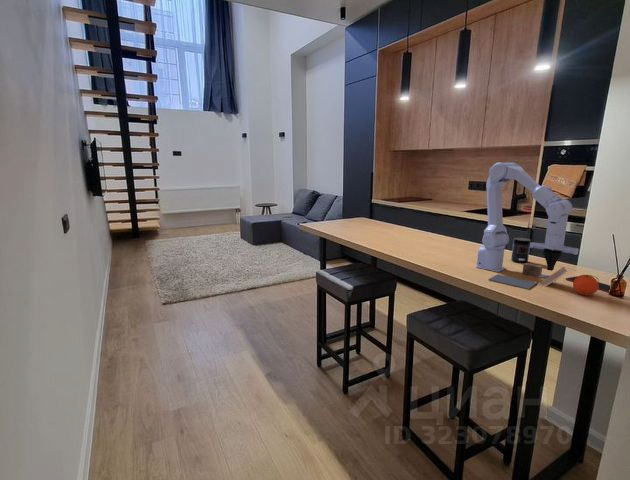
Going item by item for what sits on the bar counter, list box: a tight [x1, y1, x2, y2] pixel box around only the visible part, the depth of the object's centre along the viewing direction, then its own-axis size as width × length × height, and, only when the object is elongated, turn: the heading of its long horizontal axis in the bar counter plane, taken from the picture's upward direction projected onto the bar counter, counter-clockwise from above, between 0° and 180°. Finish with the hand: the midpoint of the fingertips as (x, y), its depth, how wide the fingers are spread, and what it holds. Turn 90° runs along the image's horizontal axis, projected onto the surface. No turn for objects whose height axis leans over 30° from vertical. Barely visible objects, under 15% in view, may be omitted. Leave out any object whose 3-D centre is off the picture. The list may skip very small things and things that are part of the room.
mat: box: [487, 274, 538, 291], centre depth 133 cm, size 14×9×1 cm, turn 43°
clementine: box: [572, 274, 600, 296], centre depth 119 cm, size 8×7×7 cm
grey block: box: [522, 262, 552, 280], centre depth 139 cm, size 11×4×4 cm, turn 43°
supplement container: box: [510, 237, 532, 264], centre depth 159 cm, size 7×7×10 cm
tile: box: [541, 266, 568, 287], centre depth 129 cm, size 2×7×7 cm
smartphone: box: [565, 275, 611, 293], centre depth 130 cm, size 7×1×15 cm
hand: (550, 269), depth 129 cm, fingers closed
